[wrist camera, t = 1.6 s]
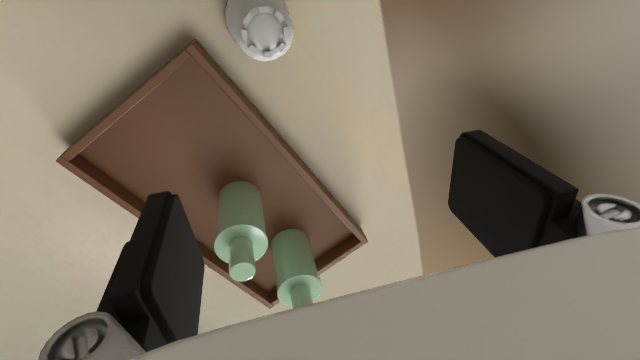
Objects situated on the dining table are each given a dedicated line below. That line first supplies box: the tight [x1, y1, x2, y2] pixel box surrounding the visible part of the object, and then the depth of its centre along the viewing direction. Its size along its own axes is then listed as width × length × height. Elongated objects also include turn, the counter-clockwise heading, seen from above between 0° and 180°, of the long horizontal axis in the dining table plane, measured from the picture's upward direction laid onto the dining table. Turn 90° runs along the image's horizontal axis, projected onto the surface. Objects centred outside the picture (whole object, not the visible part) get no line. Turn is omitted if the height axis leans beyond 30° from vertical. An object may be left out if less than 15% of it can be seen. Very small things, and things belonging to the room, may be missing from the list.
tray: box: [56, 39, 368, 308], centre depth 30 cm, size 13×24×2 cm, turn 35°
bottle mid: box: [214, 181, 268, 282], centre depth 27 cm, size 4×4×9 cm
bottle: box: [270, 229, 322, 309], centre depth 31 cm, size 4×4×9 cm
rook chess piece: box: [225, 0, 294, 61], centre depth 21 cm, size 4×4×8 cm
